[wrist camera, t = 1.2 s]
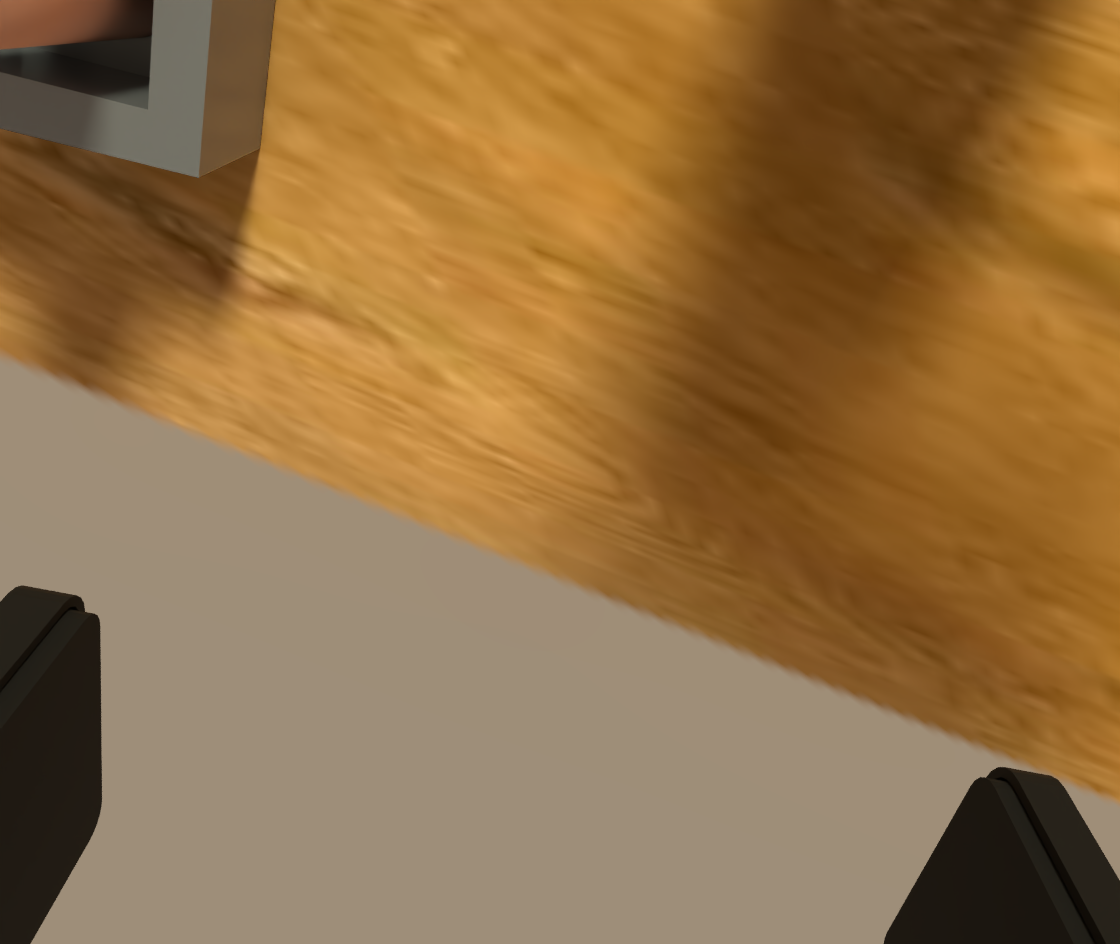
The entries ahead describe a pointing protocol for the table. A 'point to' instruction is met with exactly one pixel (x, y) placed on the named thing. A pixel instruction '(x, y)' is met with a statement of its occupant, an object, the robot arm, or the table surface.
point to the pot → (151, 88)
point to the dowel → (72, 21)
